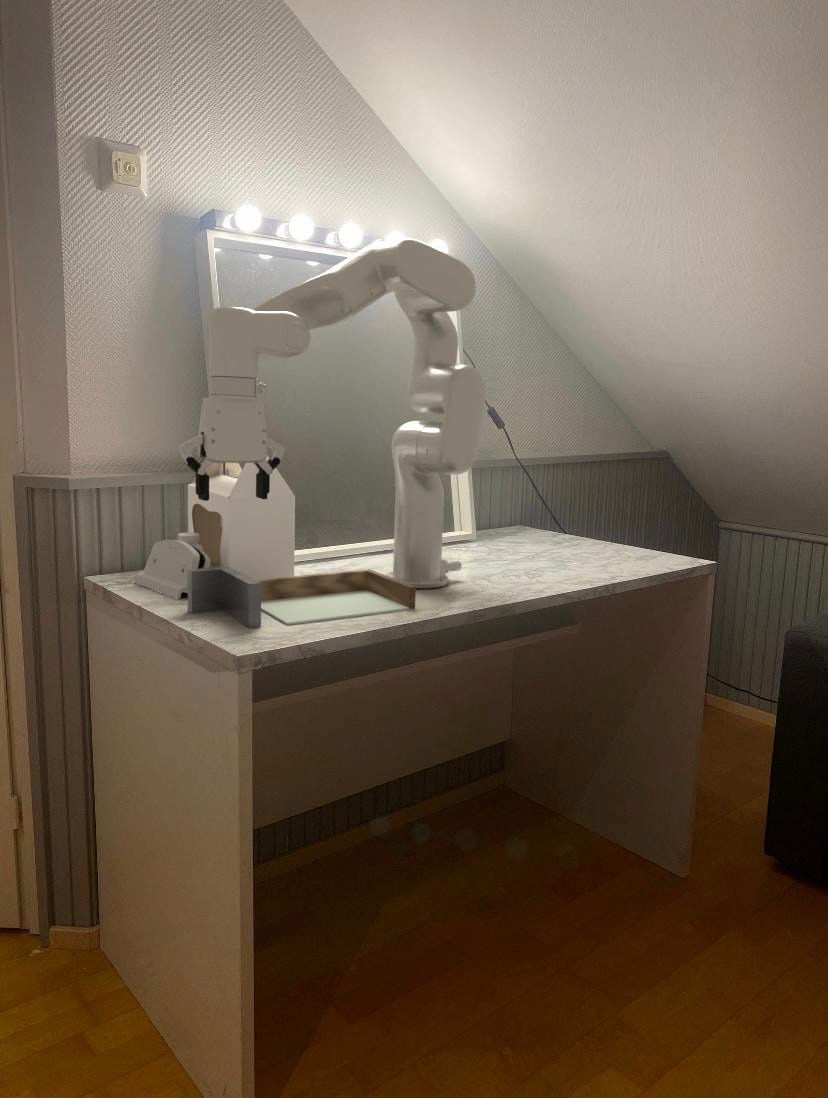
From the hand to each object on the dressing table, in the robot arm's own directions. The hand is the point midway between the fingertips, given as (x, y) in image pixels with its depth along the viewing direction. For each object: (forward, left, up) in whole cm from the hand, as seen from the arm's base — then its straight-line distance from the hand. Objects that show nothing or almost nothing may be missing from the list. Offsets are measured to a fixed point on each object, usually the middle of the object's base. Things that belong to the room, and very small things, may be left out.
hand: (233, 499), depth 133 cm
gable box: (-11, -27, -19) cm, 35 cm away
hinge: (+3, -23, -19) cm, 30 cm away
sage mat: (-17, +2, -19) cm, 25 cm away
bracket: (+2, +1, -19) cm, 19 cm away
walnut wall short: (-29, +2, -19) cm, 34 cm away
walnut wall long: (-17, -6, -19) cm, 26 cm away
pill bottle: (-2, -29, -19) cm, 35 cm away
